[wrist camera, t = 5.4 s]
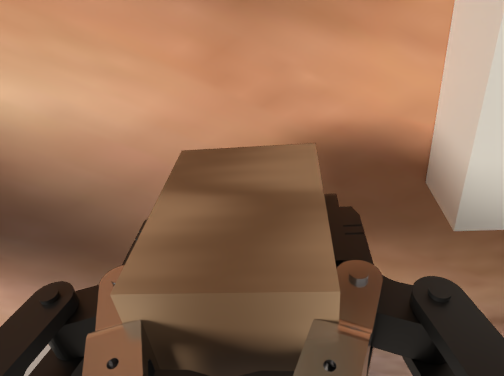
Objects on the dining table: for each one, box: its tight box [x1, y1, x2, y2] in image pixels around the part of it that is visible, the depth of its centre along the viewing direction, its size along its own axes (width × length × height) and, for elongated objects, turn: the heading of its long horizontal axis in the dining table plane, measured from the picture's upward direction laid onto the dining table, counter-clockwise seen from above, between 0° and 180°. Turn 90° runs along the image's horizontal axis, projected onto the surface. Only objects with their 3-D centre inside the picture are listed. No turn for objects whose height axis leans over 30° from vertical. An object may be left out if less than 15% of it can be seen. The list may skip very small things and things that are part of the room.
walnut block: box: [110, 143, 340, 376], centre depth 12 cm, size 5×5×7 cm
